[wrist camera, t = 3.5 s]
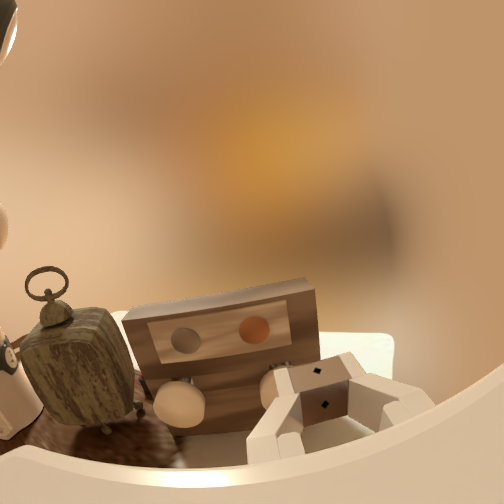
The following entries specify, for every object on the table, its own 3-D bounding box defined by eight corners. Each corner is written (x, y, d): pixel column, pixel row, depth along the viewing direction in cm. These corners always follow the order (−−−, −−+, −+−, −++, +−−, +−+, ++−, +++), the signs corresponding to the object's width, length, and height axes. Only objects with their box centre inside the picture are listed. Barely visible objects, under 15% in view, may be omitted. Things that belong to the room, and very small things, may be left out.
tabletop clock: (150, 400, 38) (96, 249, 33) (153, 438, 29) (78, 262, 24) (76, 412, 34) (14, 272, 28) (67, 447, 25) (-16, 288, 20)
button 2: (315, 408, 25) (312, 371, 24) (265, 419, 25) (257, 383, 24) (301, 372, 31) (297, 337, 30) (259, 381, 31) (252, 346, 30)
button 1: (209, 426, 24) (195, 391, 23) (163, 428, 24) (145, 394, 23) (212, 388, 31) (201, 354, 30) (172, 391, 31) (159, 359, 30)
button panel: (323, 417, 30) (316, 290, 26) (172, 438, 30) (119, 322, 26) (315, 396, 34) (304, 277, 31) (176, 416, 34) (132, 306, 30)
